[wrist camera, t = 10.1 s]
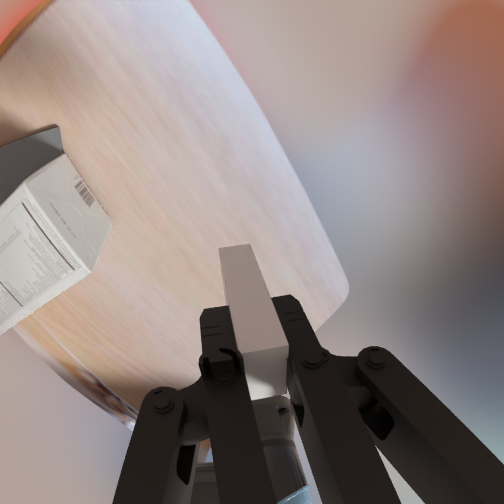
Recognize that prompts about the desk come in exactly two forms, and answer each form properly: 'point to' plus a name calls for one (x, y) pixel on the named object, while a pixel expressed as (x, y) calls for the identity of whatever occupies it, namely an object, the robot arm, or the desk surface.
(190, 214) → the desk surface
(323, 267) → the desk surface
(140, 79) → the desk surface
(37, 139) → the mat
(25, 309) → the supplement box
